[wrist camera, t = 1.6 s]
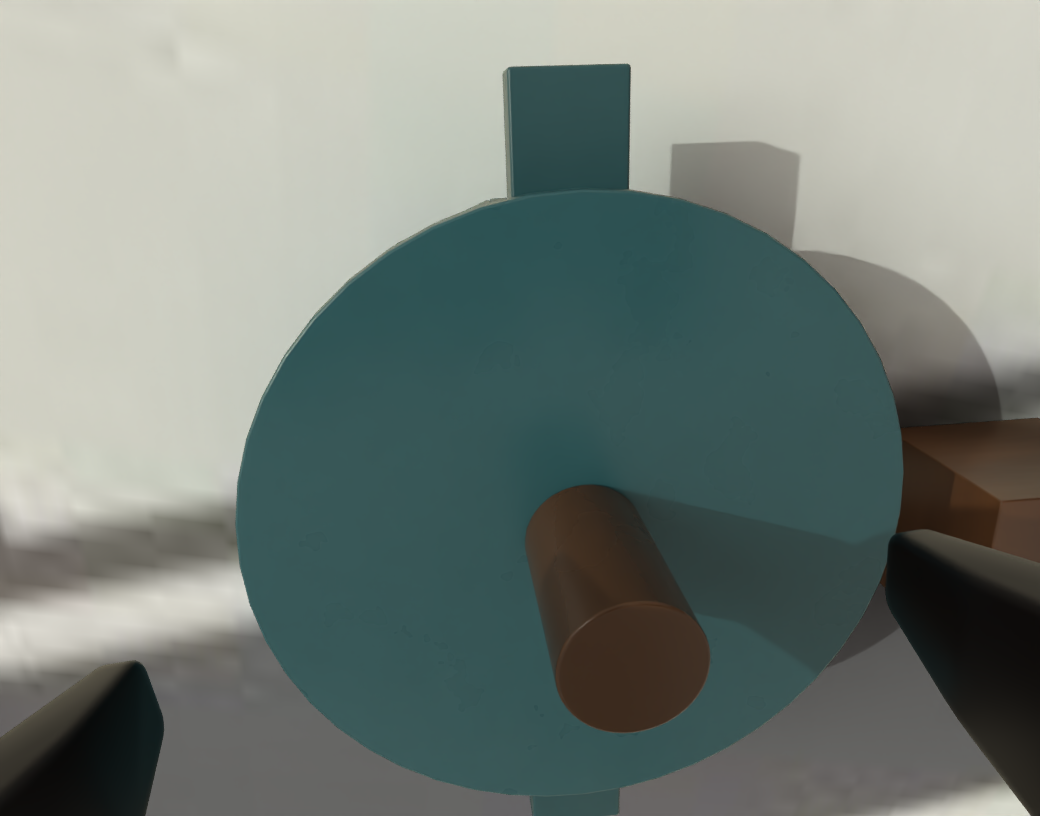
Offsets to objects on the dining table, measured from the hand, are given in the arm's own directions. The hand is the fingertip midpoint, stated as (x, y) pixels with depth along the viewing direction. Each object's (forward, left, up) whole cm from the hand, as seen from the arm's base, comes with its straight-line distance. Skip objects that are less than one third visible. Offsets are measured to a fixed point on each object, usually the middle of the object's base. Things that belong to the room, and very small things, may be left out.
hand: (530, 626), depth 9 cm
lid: (-2, +3, -7) cm, 8 cm away
